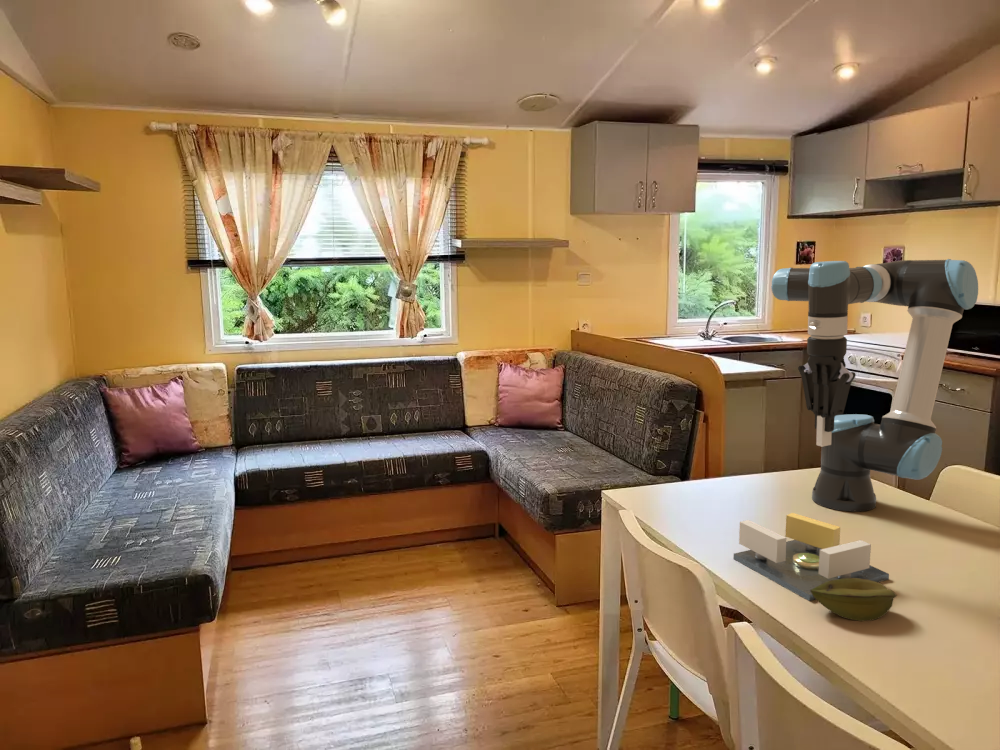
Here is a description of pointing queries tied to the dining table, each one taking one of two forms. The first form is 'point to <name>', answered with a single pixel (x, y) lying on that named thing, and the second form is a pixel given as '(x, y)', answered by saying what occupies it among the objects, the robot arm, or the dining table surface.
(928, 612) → the dining table surface
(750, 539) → the white crossbar plank
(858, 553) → the white brick piece
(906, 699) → the dining table surface
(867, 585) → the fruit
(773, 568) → the base
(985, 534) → the dining table surface
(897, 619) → the dining table surface
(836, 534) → the yellow lintel plank
